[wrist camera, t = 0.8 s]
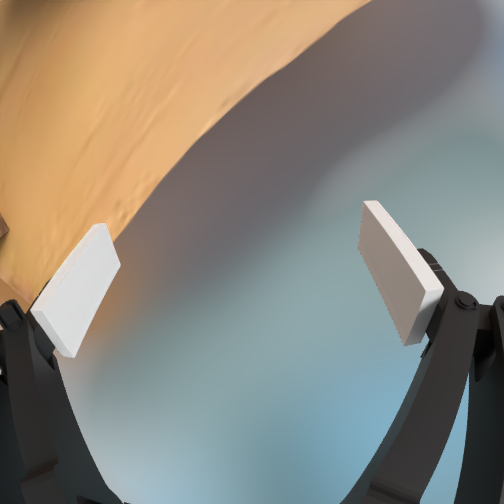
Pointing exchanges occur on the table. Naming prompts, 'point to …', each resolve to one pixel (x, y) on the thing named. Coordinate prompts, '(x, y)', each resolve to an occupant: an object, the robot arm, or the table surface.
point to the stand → (3, 227)
